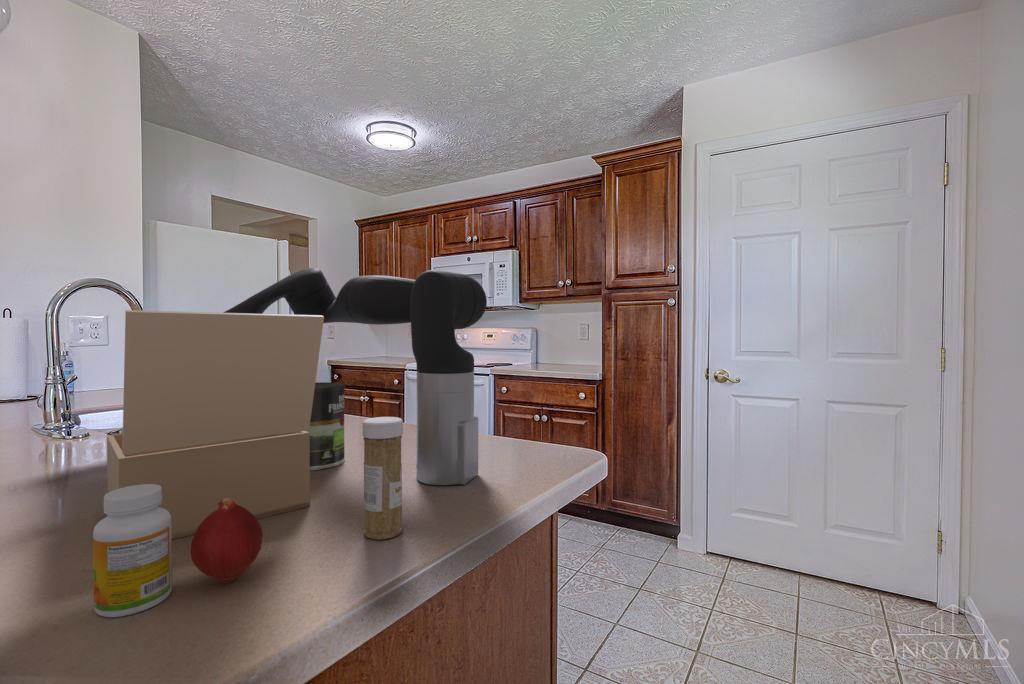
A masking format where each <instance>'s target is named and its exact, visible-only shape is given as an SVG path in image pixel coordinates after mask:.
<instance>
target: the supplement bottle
mask: <svg viewBox="0 0 1024 684" xmlns="http://www.w3.org/2000/svg"><path fill="white" fill-rule="evenodd" d="M161 500H162V488H161V486H160V485H156V484H142V485H134V486H128V487H124V488H120V489H116V490H113V491H111V492H109V493H108V492H107V493H105V495H104V496H103V513H104V514H105V515H106V517H104V518H103V519H101V520H99V522H97V523H96V524H95V526H94V528H93V532H92V555H93V556H92V559H93V560H92V561H93V562H92V564H93V565H92V566H93V567H92V568H93V570H92V571H93V574H92V576H93V605H94V606H93V608H94V609H93V610H94V612H95V613H96V614H97V615H99V616H101V617H105V618H119V617H120V618H121V617H126V615H127V616H130V615H134V614H137V613H140V612H143V611H146V610H148V609H151V608H153V607H155V606H156V605H159V604H160V603H162V602H163V601H164V600H166V599H168V597H169V596H170V595H171V592H172V590H173V557H172V556H173V552H172V550H173V547H172V544H173V543H172V541H173V540H172V525H171V515H170V513H169V512H168V511H167V510H166V509H164V508H160V507H159V505H160V504H161V502H162V501H161Z"/></svg>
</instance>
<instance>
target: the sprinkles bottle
mask: <svg viewBox="0 0 1024 684" xmlns="http://www.w3.org/2000/svg"><path fill="white" fill-rule="evenodd" d="M403 434H404V421H403V419H402V418H401V417H397V416H378V417H376V416H375V417H371V418H367V419H364V420H363V422H362V437H363V442H364V443H363V446H364V447H363V451H364V453H363V455H364V456H363V507H364V529H363V535H364V536H365V537H366V538H369V539H372V540H377V541H378V540H387V539H388V540H389V539H392V538H394V537H396V536H398V535H399V534H401V532H402V531H403V529H404V525H403V516H402V514H403V511H402V509H403V508H402V507H403V506H402V503H403V469H402V468H403V467H402V465H403V464H402V437H403Z"/></svg>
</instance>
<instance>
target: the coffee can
mask: <svg viewBox="0 0 1024 684" xmlns="http://www.w3.org/2000/svg"><path fill="white" fill-rule="evenodd" d="M345 388H346V384H345V383H342V382H327V381H326V382H322V381H321V382H315V389H314V397H313V404H312V412H311V419H310V427H309V430H305V431H307V432H309V433H310V471H318V470H326V469H327V470H328V469H330V468H334V467H337V466H340V465H342V464H344V462H345V461H346V459H345Z"/></svg>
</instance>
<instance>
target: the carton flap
mask: <svg viewBox="0 0 1024 684" xmlns="http://www.w3.org/2000/svg"><path fill="white" fill-rule="evenodd" d="M124 316H125V318H124V319H125V320H124V321H125V322H124V323H125V324H124V326H125V328H124V360H123V361H124V362H123V364H124V365H123V368H124V369H123V402H122V403H123V404H122V406H123V407H122V433H123V441H122V453H123V455H126V454H134V453H141V452H149V451H156V450H164V449H171V448H178V447H186V446H193V445H201V444H208V443H216V442H223V441H231V440H238V439H245V438H253V437H260V436H268V435H275V434H283V433H290V432H298V431H305V430H309V427H310V419H311V412H312V404H313V397H314V389H315V383H317V373H318V368H319V367H318V365H319V358H320V351H321V350H320V349H321V341H322V334H323V328H324V327H323V326H324V323H323V321H324V316H322V315H295V314H290V313H289V314H287V313H286V314H284V313H280V314H279V313H262V314H252V313H223V312H215V311H214V312H213V311H212V312H211V311H210V312H207V311H177V310H176V311H173V310H172V311H171V310H168V311H167V310H140V309H139V310H137V309H136V310H135V309H134V310H133V309H132V310H131V309H130V310H129V309H125V315H124Z"/></svg>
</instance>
